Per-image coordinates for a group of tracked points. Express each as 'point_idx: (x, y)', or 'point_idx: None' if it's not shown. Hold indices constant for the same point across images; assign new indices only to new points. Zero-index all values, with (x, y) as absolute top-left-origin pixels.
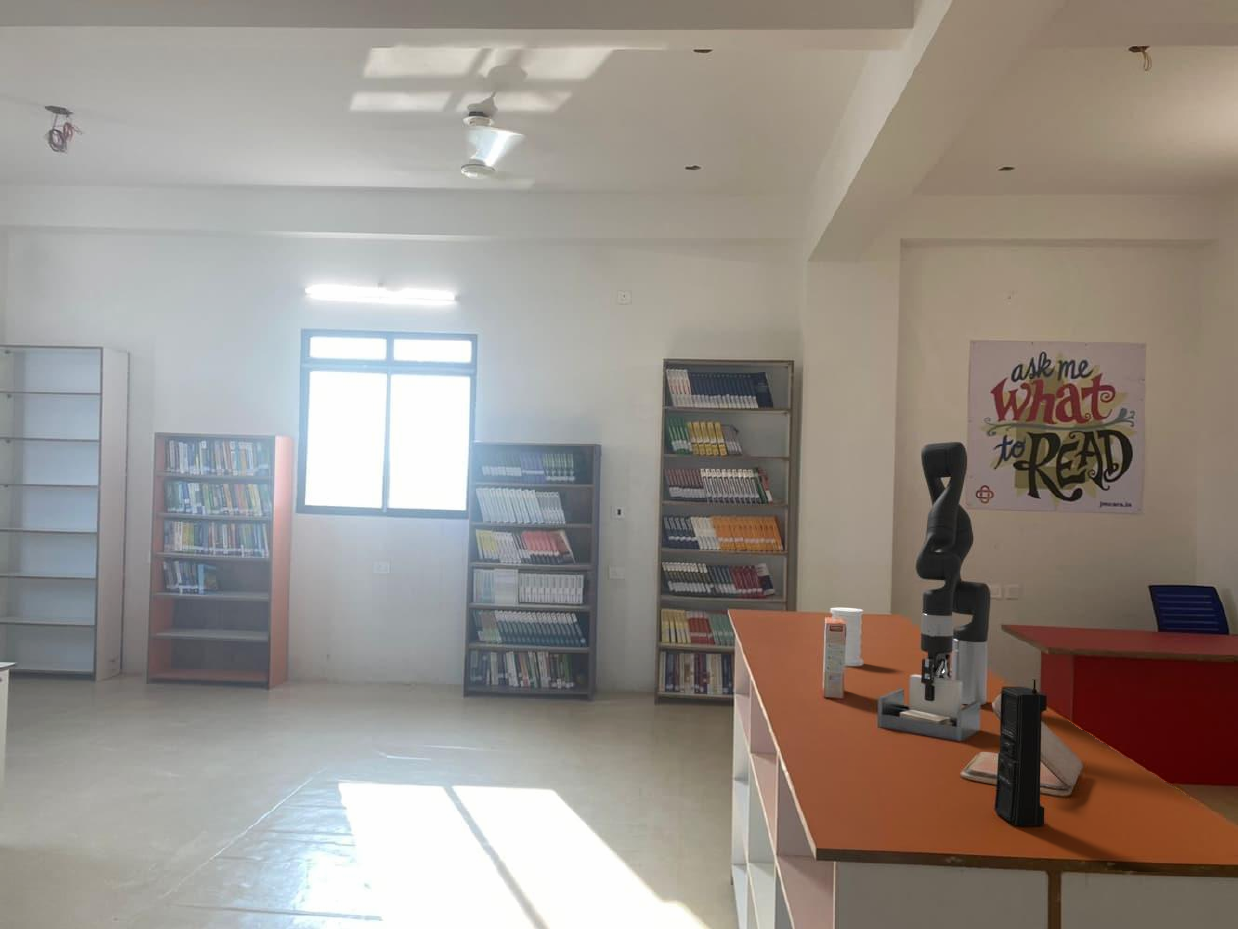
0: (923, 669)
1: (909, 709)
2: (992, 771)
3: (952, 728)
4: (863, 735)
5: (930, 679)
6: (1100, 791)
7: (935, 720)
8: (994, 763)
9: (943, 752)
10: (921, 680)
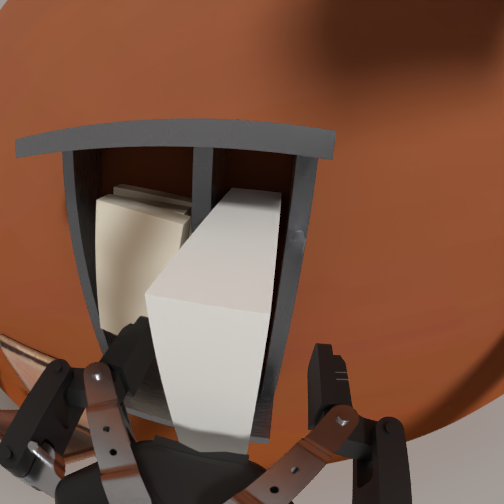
0: (22, 417)
1: (220, 202)
2: (16, 367)
3: (103, 350)
4: (13, 149)
5: (60, 405)
6: None
7: (100, 321)
8: (36, 375)
9: (41, 317)
10: (47, 367)
